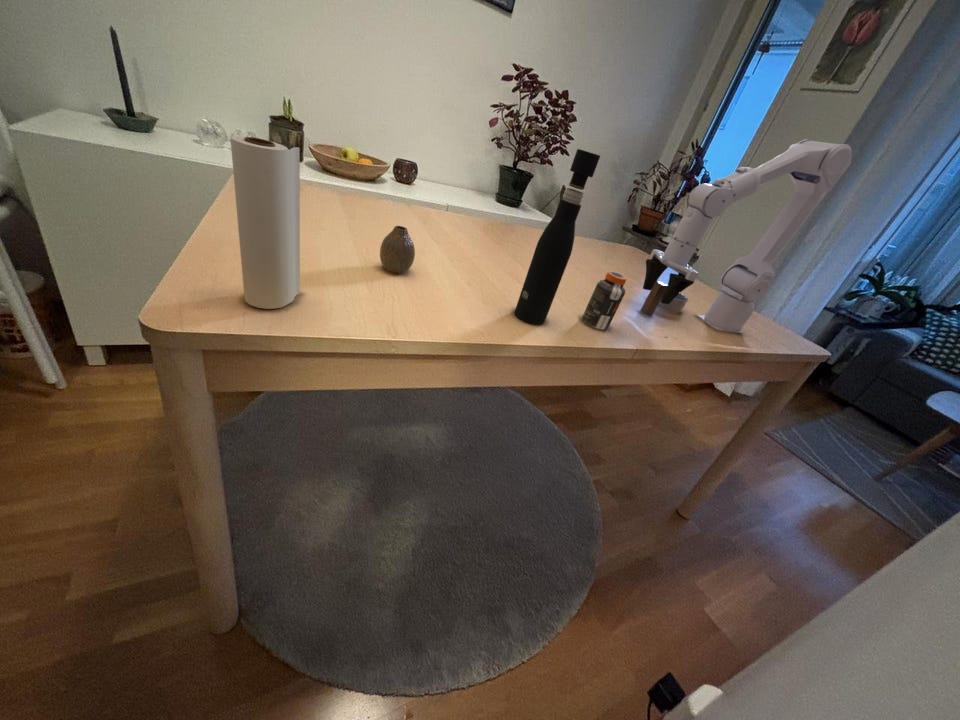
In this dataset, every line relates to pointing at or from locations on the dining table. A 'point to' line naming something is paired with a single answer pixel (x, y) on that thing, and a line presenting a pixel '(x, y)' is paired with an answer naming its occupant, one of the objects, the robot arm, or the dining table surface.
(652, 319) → the dining table surface
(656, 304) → the stick
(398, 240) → the vase
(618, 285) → the pill bottle
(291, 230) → the paper towel roll
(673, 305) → the tin
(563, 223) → the black water bottle
